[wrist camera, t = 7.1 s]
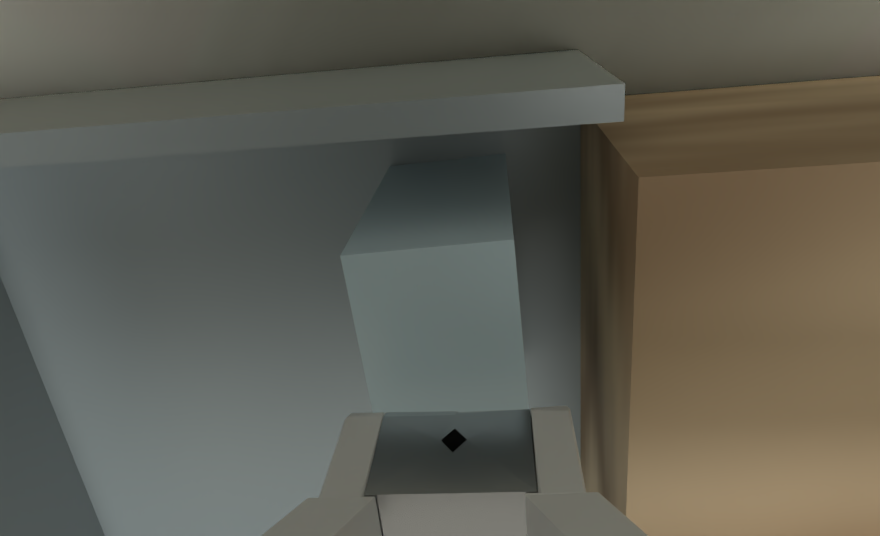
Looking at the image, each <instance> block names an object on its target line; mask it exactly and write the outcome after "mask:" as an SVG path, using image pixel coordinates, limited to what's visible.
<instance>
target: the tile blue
mask: <svg viewBox="0 0 880 536" xmlns="http://www.w3.org/2000/svg"><path fill="white" fill-rule="evenodd" d="M340 258H341V262H342V267H343V272H344V277H345V282H346V287H347V291H348V296H349V301H350V306H351V311H352V315H353V320H354V325H355V330H356V335H357V340H358V344H359V349H360V354H361V359H362V364H363V368H364V373H365V378H366V383H367V388H368V393H369V397H370V402H371V407H372V412H373V413H377V412H383V413H387V412H442V411H458V412H470V411H495V410H519V409H529V404H528V393H527V381H526V370H525V359H524V347H523V336H522V325H521V313H520V302H519V291H518V280H517V268H516V257H515V246H514V235H513V225H512V214H511V204H510V194H509V184H508V173H507V163H506V153H505V154H496V155H487V156H478V157H469V158H460V159H450V160H441V161H432V162H423V163H414V164H405V165H396V166H390V167H389V169H388V170H387V172H386V174H385V176H384V178H383V179H382V181H381V183H380V185H379V187H378V188H377V190H376V192H375V194H374V196H373V197H372V199H371V201H370V203H369V205H368V206H367V208H366V210H365V212H364V214H363V215H362V217H361V219H360V221H359V223H358V224H357V226H356V228H355V230H354V232H353V233H352V235H351V237H350V239H349V241H348V242H347V244H346V246H345V248H344V250H343V251H342V253H341V255H340Z"/></svg>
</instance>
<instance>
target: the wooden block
mask: <svg viewBox="0 0 880 536" xmlns="http://www.w3.org/2000/svg"><path fill="white" fill-rule="evenodd" d="M580 232H581V467H582V472H583V477H584V483H585V488H586V492H599V493H600V494H601V495H602V496H603V497H605V498H606V499H607V500H608V501H609V502H610V503H611V504H613V505H614V506H615V507H616V508H617V509H618V510H619V511H621V512H622V513H623V514H624V515H625V516H626V517H627V518H629V519H630V520H631V521H632V522H633V523H634V524H635V525H637V526H638V527H639V528H640V529H641V530H642V531H643V532H645V533H646V534H647V535H648V536H880V76H867V77H855V78H842V79H829V80H816V81H804V82H791V83H778V84H765V85H753V86H740V87H727V88H714V89H702V90H689V91H676V92H663V93H651V94H638V95H625V108H624V121H623V122H610V123H596V124H583V125H580Z"/></svg>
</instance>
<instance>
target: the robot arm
mask: <svg viewBox="0 0 880 536" xmlns="http://www.w3.org/2000/svg"><path fill="white" fill-rule="evenodd" d="M261 536H648V535H647V534H646V533H645V532H643V531H642V530H641V529H640V528H639V527H638V526H637V525H635V524H634V523H633V522H632V521H631V520H630V519H629V518H627V517H626V516H625V515H624V514H623V513H622V512H621V511H619V510H618V509H617V508H616V507H615V506H614V505H613V504H611V503H610V502H609V501H608V500H607V499H606V498H605V497H603V496H602V495H601V494H600V493H599V492H586V488H585V483H584V477H583V472H582V467H581V462H580V457H579V452H578V447H577V442H576V436H575V431H574V426H573V421H572V416H571V411H570V409H569V408H568V406H551V407H536V408H531V409H519V410H495V411H470V412H458V411H442V412H387V413H383V412H377V413H351V414H350V415H349V416H348V417H347V418H346V419H345V421H344V424H343V427H342V430H341V433H340V436H339V439H338V442H337V445H336V448H335V451H334V454H333V457H332V460H331V462H330V465H329V468H328V471H327V474H326V477H325V480H324V483H323V486H322V489H321V492H320V495H319V498H307V499H306V500H304V501H303V502H302V503H301V504H300V505H298V506H297V507H296V508H295V509H293V510H292V511H291V512H290V513H288V514H287V515H286V516H285V517H284V518H282V519H281V520H280V521H279V522H277V523H276V524H275V525H274V526H272V527H271V528H270V529H269V530H267V531H266V532H265V533H264V534H263V535H261Z"/></svg>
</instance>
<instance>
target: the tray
mask: <svg viewBox="0 0 880 536" xmlns="http://www.w3.org/2000/svg"><path fill="white" fill-rule="evenodd" d="M624 108H625V83H624V82H622V81H621V80H620V79H618V78H617V77H615V76H614V75H613V74H611V73H610V72H608V71H607V70H606V69H604V68H603V67H601V66H600V65H599V64H597V63H596V62H594V61H593V60H592V59H590V58H589V57H587V56H586V55H584V54H583V53H582V52H580V51H579V50H577V49H575V50H564V51H552V52H540V53H529V54H517V55H506V56H494V57H482V58H471V59H459V60H448V61H436V62H424V63H413V64H401V65H390V66H378V67H366V68H355V69H343V70H332V71H320V72H308V73H297V74H285V75H274V76H262V77H250V78H239V79H227V80H216V81H204V82H192V83H181V84H169V85H158V86H146V87H134V88H123V89H111V90H100V91H88V92H76V93H65V94H53V95H42V96H30V97H18V98H7V99H0V536H261V535H263V534H264V533H265V532H266V531H267V530H269V529H270V528H271V527H272V526H274V525H275V524H276V523H277V522H279V521H280V520H281V519H282V518H284V517H285V516H286V515H287V514H288V513H290V512H291V511H292V510H293V509H295V508H296V507H297V506H298V505H300V504H301V503H302V502H303V501H304V500H306V499H307V498H319V495H320V492H321V489H322V486H323V483H324V480H325V477H326V474H327V471H328V468H329V465H330V462H331V460H332V457H333V454H334V451H335V448H336V445H337V442H338V439H339V436H340V433H341V430H342V427H343V424H344V421H345V419H346V418H347V417H348V416H349V415H350V414H351V413H373V412H372V407H371V402H370V397H369V393H368V388H367V383H366V378H365V373H364V368H363V364H362V359H361V354H360V349H359V344H358V340H357V335H356V330H355V325H354V320H353V315H352V311H351V306H350V301H349V296H348V291H347V287H346V282H345V277H344V272H343V267H342V262H341V258H340V255H341V253H342V251H343V250H344V248H345V246H346V244H347V242H348V241H349V239H350V237H351V235H352V233H353V232H354V230H355V228H356V226H357V224H358V223H359V221H360V219H361V217H362V215H363V214H364V212H365V210H366V208H367V206H368V205H369V203H370V201H371V199H372V197H373V196H374V194H375V192H376V190H377V188H378V187H379V185H380V183H381V181H382V179H383V178H384V176H385V174H386V172H387V170H388V169H389V167H390V166H396V165H405V164H414V163H423V162H432V161H441V160H450V159H460V158H469V157H478V156H487V155H496V154H505V153H506V163H507V173H508V184H509V194H510V204H511V214H512V225H513V235H514V246H515V257H516V268H517V280H518V291H519V302H520V313H521V325H522V336H523V347H524V359H525V370H526V381H527V393H528V404H529V409H531V408H536V407H551V406H568V408H569V409H570V411H571V416H572V421H573V426H574V431H575V436H576V442H577V447H578V452H579V457H580V462H581V232H580V125H583V124H596V123H610V122H623V121H624Z"/></svg>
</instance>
